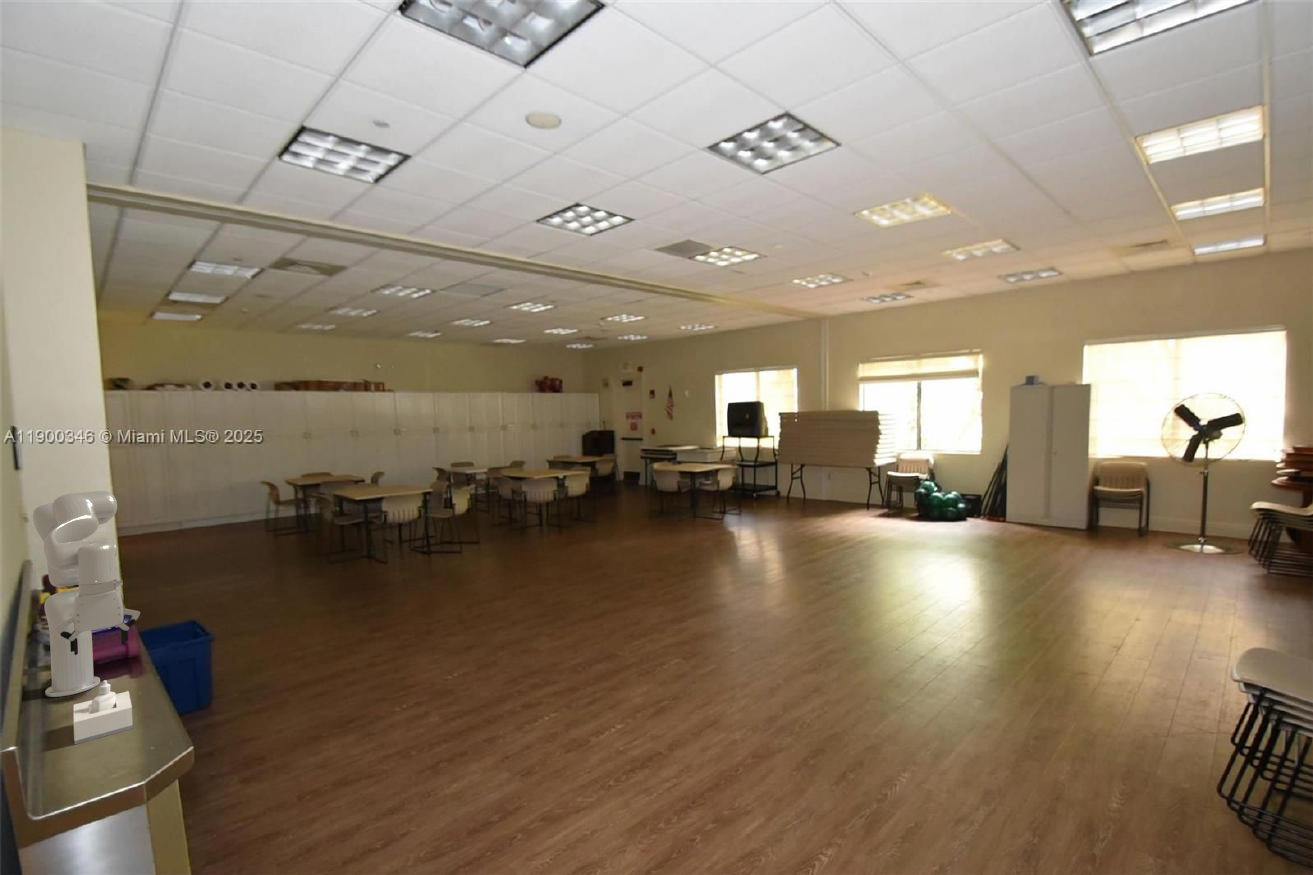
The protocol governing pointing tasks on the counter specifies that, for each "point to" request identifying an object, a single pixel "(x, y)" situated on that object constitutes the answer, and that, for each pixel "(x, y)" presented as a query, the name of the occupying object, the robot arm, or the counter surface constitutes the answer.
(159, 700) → the counter surface
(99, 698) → the eye dropper bottle
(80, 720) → the keyed holder
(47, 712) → the counter surface
